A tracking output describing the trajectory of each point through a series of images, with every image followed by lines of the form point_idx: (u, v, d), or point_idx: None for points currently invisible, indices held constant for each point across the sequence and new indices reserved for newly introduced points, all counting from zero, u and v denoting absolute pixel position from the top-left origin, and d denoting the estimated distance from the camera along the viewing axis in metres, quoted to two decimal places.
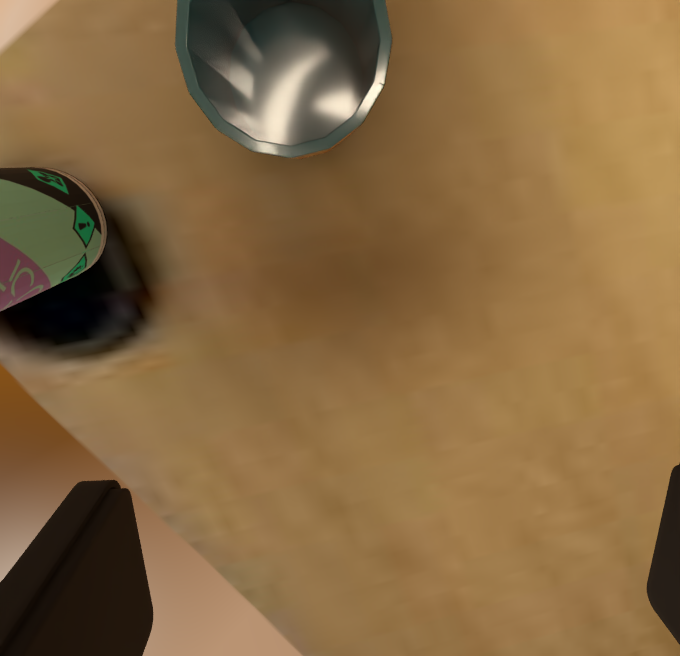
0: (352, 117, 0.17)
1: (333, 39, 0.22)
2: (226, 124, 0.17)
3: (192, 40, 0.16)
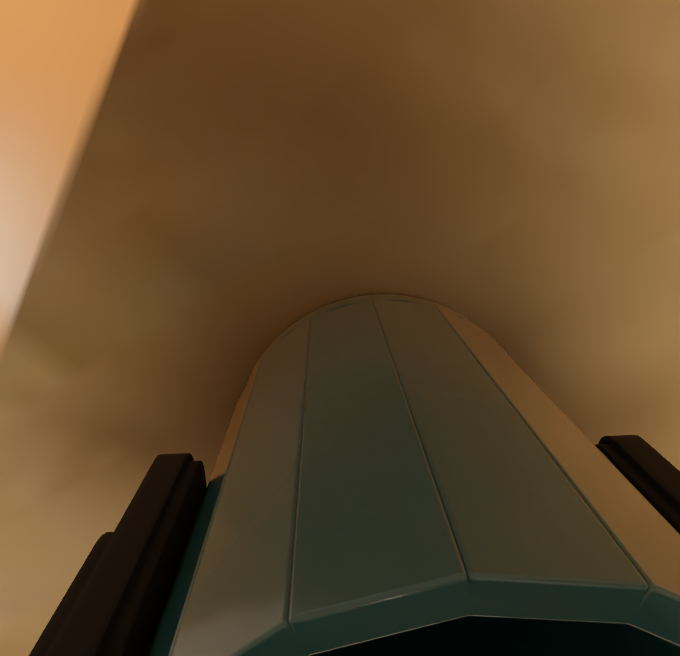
0: None
1: None
2: None
3: None
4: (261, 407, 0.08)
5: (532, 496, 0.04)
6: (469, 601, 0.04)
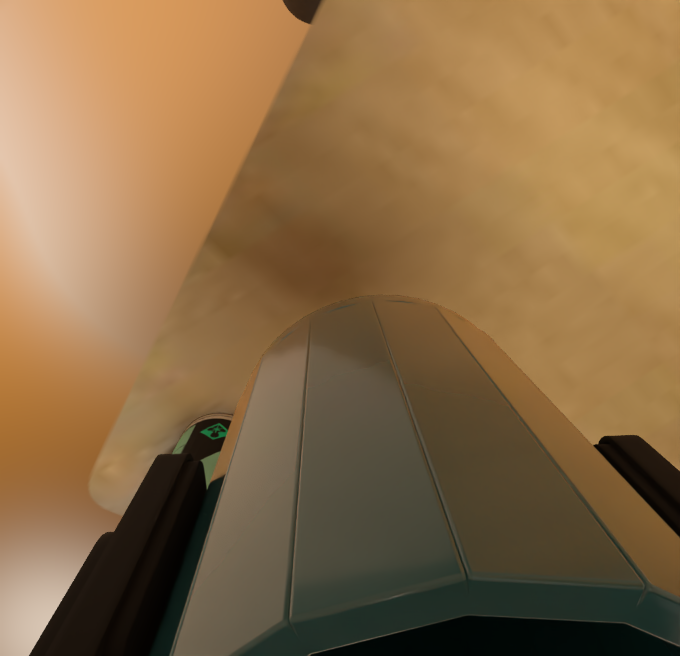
0: None
1: None
2: None
3: None
4: (261, 408, 0.08)
5: (529, 497, 0.04)
6: (468, 601, 0.04)
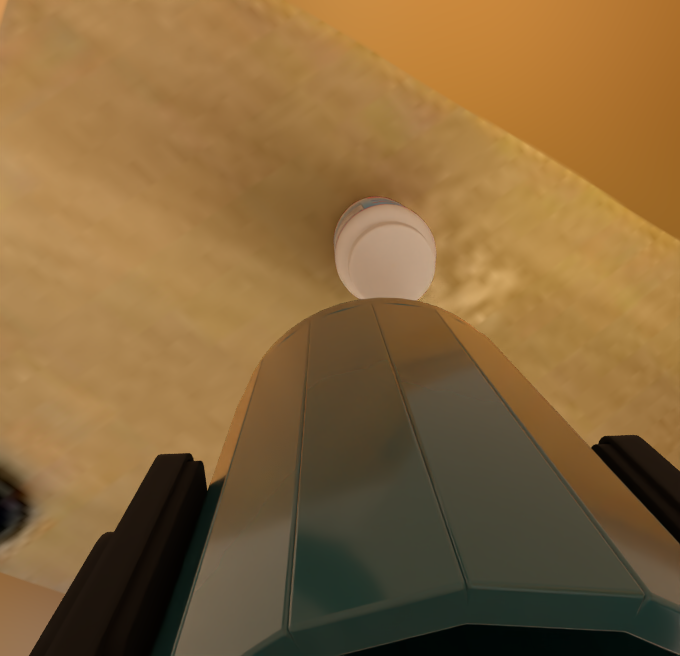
0: None
1: None
2: None
3: None
4: (261, 411, 0.08)
5: (529, 504, 0.04)
6: (467, 610, 0.04)
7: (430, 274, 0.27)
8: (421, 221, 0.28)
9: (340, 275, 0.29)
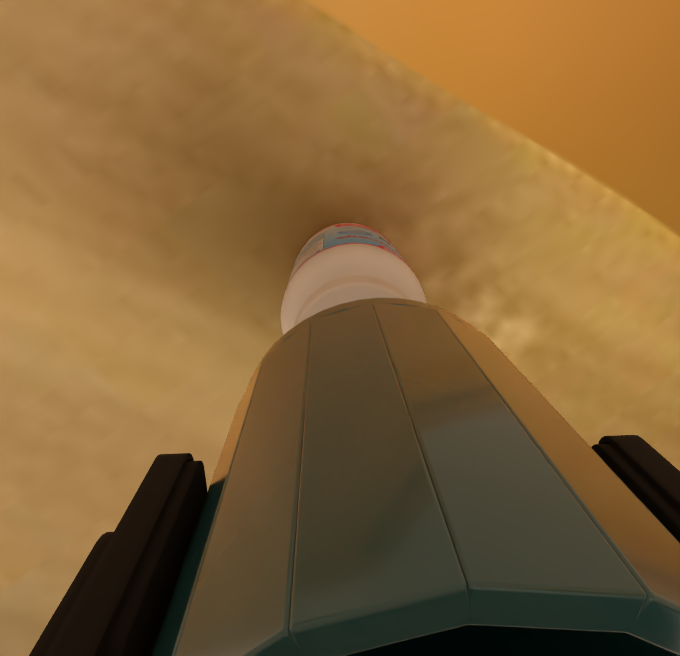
0: None
1: None
2: None
3: None
4: (261, 411, 0.08)
5: (529, 505, 0.04)
6: (468, 611, 0.04)
7: None
8: (406, 271, 0.19)
9: None
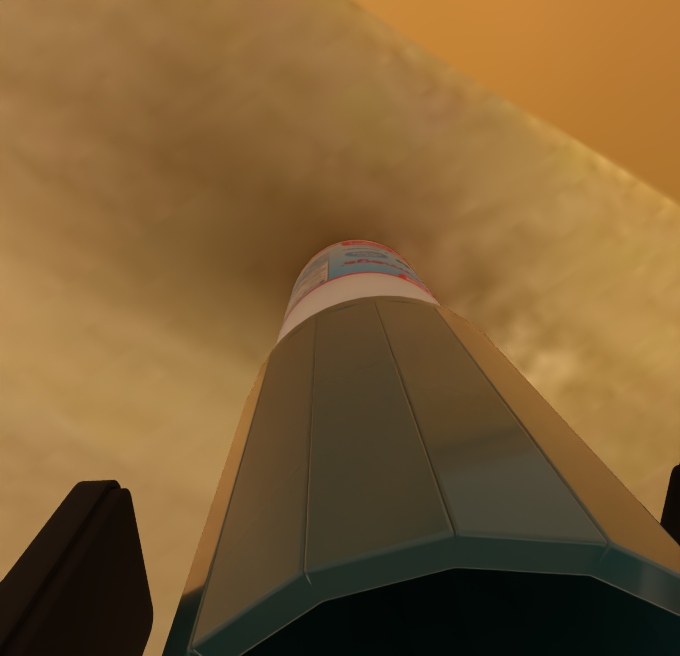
0: None
1: None
2: None
3: None
4: (272, 400, 0.09)
5: (512, 473, 0.05)
6: (456, 555, 0.04)
7: None
8: None
9: None
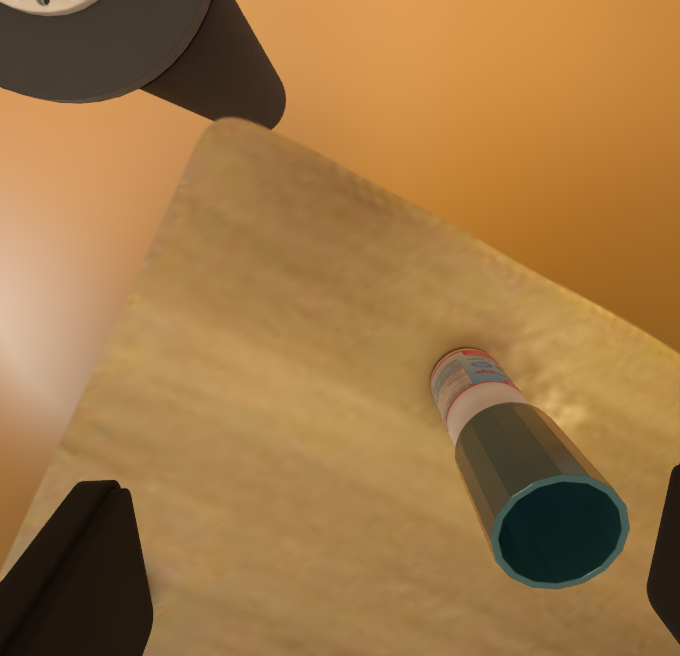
0: (615, 551, 0.25)
1: None
2: (537, 583, 0.26)
3: None
4: (491, 444, 0.28)
5: (571, 464, 0.25)
6: (562, 478, 0.24)
7: None
8: (523, 399, 0.34)
9: (452, 438, 0.35)
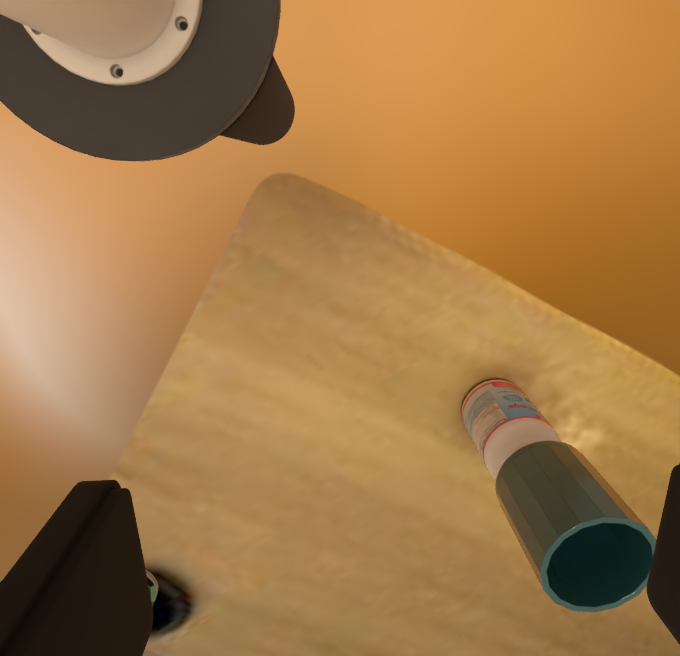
0: (646, 579, 0.29)
1: None
2: (578, 607, 0.29)
3: None
4: (534, 483, 0.32)
5: (610, 506, 0.28)
6: (604, 520, 0.27)
7: None
8: (554, 433, 0.38)
9: (489, 468, 0.39)
